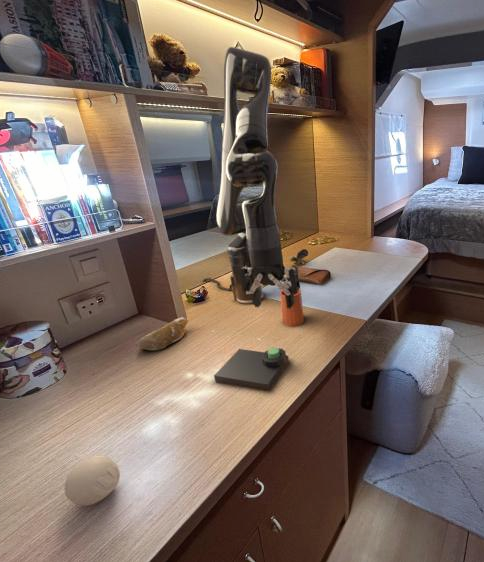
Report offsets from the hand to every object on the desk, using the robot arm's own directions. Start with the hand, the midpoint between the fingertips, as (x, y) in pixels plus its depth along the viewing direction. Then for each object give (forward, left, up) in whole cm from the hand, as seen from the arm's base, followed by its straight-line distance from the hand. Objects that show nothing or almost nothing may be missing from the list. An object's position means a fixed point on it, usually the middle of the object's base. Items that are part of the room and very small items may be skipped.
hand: (274, 306), depth 84 cm
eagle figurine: (-20, +63, -14) cm, 68 cm away
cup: (-3, +16, -14) cm, 22 cm away
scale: (-3, -9, -14) cm, 17 cm away
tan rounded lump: (-12, -43, -14) cm, 47 cm away
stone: (-35, -2, -14) cm, 38 cm away
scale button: (+1, -6, -11) cm, 12 cm away
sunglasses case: (-11, +48, -14) cm, 52 cm away
